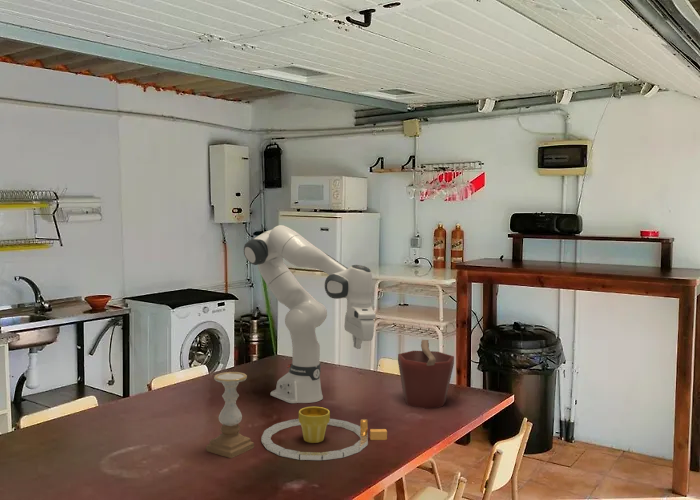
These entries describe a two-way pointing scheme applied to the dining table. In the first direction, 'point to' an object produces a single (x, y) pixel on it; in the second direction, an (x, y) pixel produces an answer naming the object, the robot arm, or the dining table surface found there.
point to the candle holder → (230, 420)
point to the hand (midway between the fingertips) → (357, 348)
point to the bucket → (425, 376)
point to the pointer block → (378, 434)
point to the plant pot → (314, 423)
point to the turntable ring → (345, 452)
